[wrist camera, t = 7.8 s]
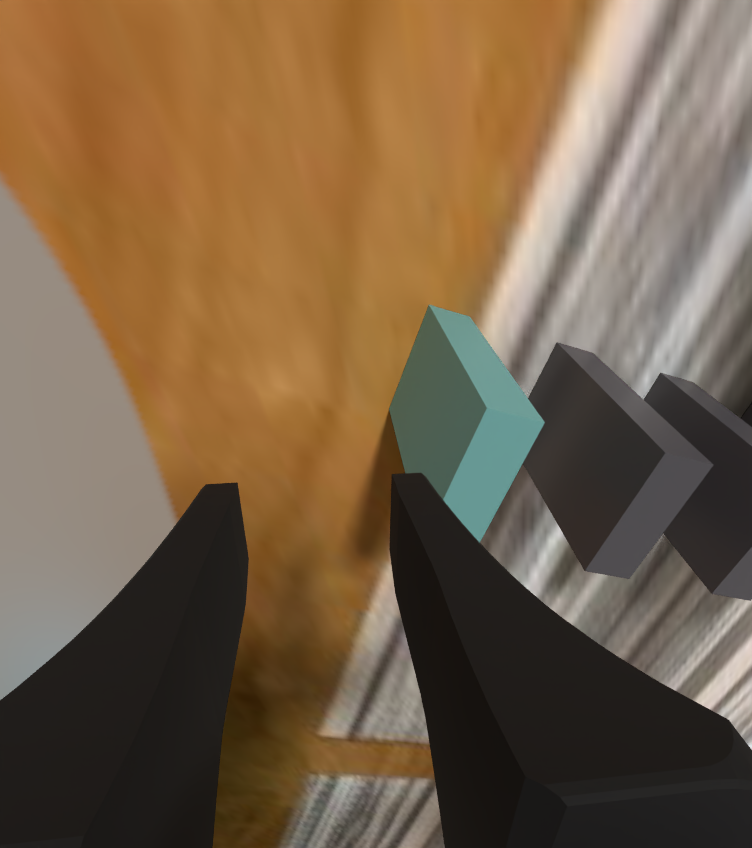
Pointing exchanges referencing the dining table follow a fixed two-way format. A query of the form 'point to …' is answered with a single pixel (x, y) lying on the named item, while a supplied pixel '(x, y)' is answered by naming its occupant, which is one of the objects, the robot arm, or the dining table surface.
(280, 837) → the dining table surface
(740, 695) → the dining table surface
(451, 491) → the tile
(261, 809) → the dining table surface
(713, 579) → the tile
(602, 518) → the tile
